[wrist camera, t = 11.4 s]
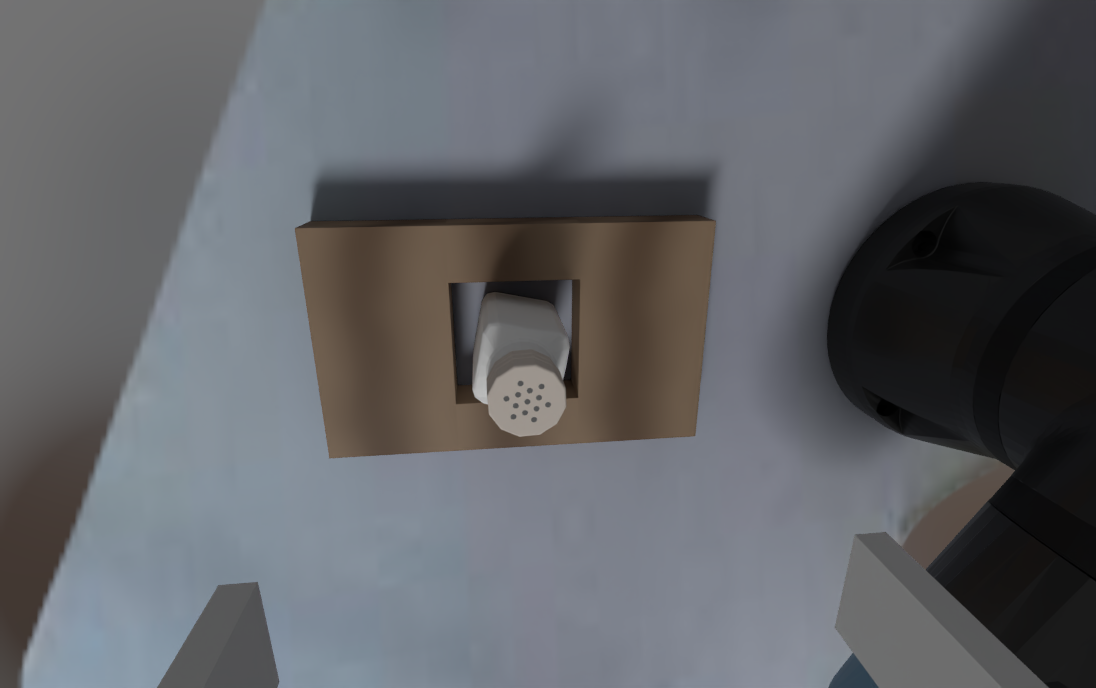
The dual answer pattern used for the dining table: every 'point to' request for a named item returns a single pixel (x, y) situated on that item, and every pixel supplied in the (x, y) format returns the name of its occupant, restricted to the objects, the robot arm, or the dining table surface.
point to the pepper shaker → (520, 363)
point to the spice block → (494, 256)
